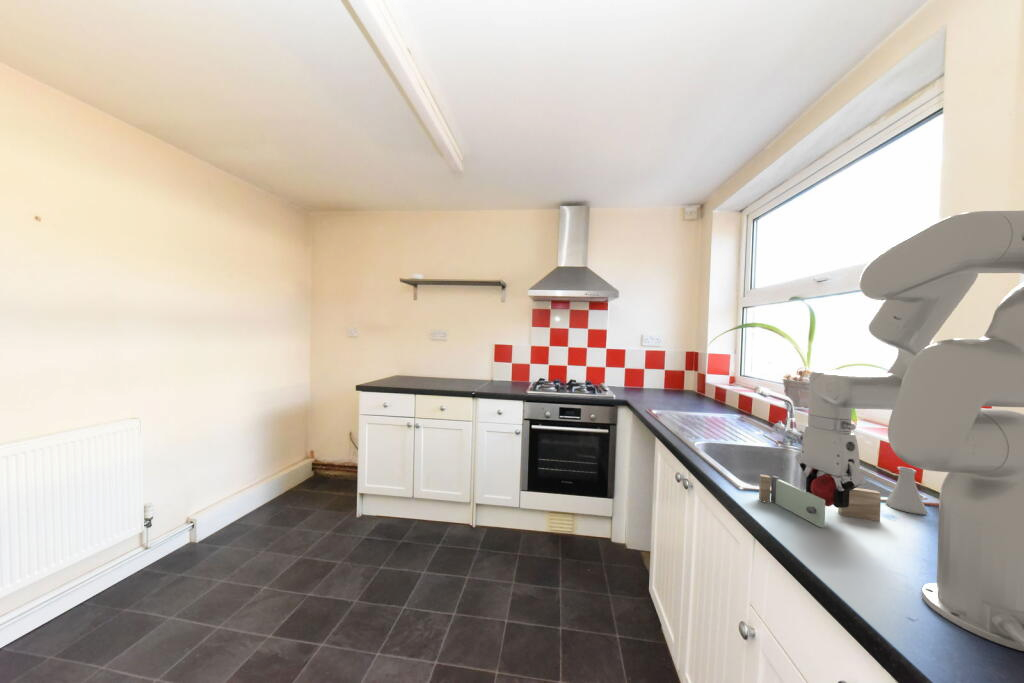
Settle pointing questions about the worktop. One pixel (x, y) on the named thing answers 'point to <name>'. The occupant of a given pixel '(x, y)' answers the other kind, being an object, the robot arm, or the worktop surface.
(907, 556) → the worktop surface
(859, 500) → the door frame
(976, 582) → the robot arm
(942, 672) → the worktop surface
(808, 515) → the door
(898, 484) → the flask
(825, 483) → the onion
